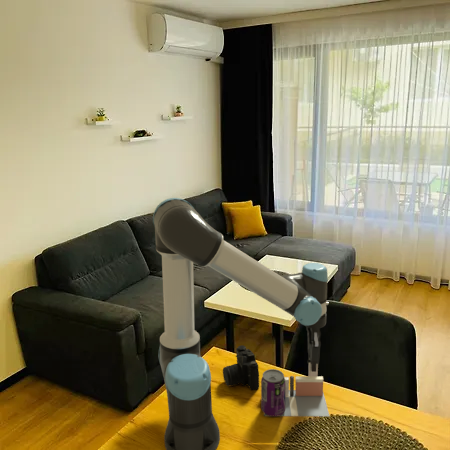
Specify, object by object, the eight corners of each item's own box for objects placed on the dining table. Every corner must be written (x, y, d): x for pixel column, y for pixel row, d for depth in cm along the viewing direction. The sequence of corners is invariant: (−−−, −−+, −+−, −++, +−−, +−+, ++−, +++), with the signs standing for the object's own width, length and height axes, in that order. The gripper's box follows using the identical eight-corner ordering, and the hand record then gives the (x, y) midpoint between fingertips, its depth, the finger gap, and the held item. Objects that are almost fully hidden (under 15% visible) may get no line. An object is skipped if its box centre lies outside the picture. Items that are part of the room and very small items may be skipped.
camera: (218, 372, 150) (217, 346, 147) (247, 366, 153) (246, 340, 150) (230, 396, 137) (229, 369, 135) (262, 389, 140) (261, 362, 137)
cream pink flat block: (295, 396, 135) (296, 379, 134) (295, 393, 137) (295, 376, 135) (322, 396, 135) (323, 379, 133) (322, 393, 136) (322, 376, 135)
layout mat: (264, 416, 128) (264, 415, 128) (262, 390, 139) (262, 389, 139) (329, 417, 127) (329, 416, 127) (322, 390, 138) (322, 390, 138)
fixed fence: (264, 396, 136) (264, 378, 134) (264, 393, 138) (264, 375, 136) (293, 396, 136) (294, 378, 134) (293, 393, 137) (293, 375, 135)
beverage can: (284, 419, 126) (284, 383, 123) (260, 417, 127) (259, 381, 124) (286, 403, 132) (286, 369, 129) (263, 401, 134) (262, 367, 131)
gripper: (330, 321, 129) (328, 390, 136) (322, 302, 142) (321, 366, 148) (304, 322, 130) (303, 390, 136) (299, 302, 142) (299, 366, 149)
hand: (312, 377), depth 142 cm, fingers closed
